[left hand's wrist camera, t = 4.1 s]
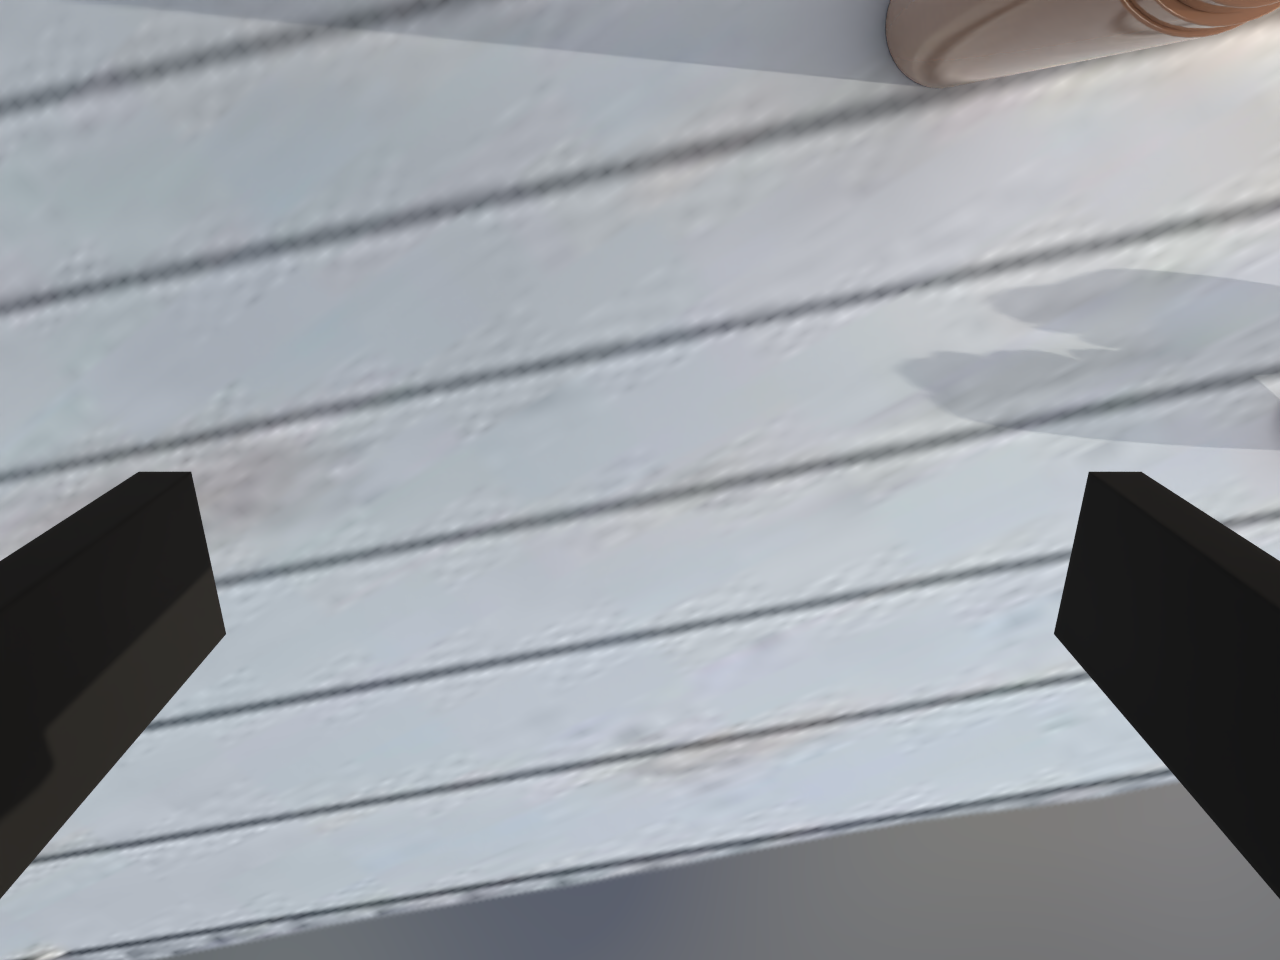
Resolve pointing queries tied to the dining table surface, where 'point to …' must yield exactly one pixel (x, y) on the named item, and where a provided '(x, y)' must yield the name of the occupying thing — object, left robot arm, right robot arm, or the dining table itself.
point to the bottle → (1043, 32)
